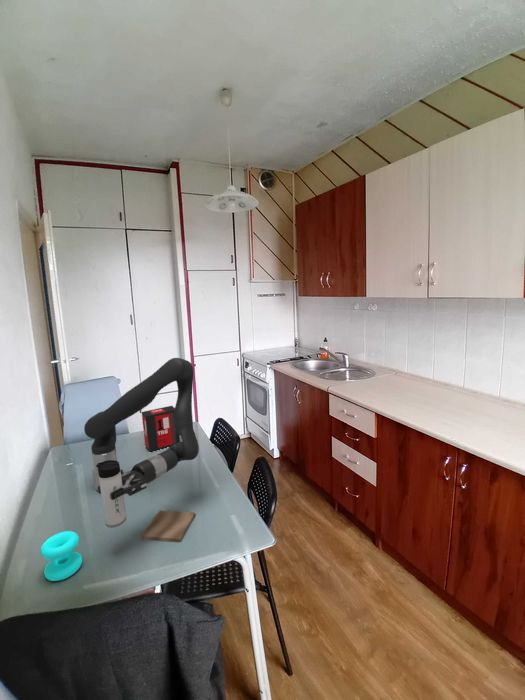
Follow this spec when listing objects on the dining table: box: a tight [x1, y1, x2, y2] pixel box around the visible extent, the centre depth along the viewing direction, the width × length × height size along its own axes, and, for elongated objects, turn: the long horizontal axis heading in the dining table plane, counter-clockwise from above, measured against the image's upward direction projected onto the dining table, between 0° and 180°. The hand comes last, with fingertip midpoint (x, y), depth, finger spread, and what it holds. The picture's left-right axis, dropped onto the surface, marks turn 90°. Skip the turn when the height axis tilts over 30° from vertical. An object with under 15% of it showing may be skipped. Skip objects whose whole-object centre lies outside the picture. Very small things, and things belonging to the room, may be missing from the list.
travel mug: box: [96, 460, 127, 529], centre depth 109 cm, size 6×7×20 cm
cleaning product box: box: [141, 405, 181, 453], centre depth 189 cm, size 16×9×20 cm, turn 122°
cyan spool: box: [40, 530, 83, 582], centre depth 105 cm, size 10×10×10 cm
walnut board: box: [140, 510, 197, 543], centre depth 123 cm, size 14×14×1 cm
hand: (104, 493), depth 107 cm, fingers closed on travel mug, 6 cm apart
